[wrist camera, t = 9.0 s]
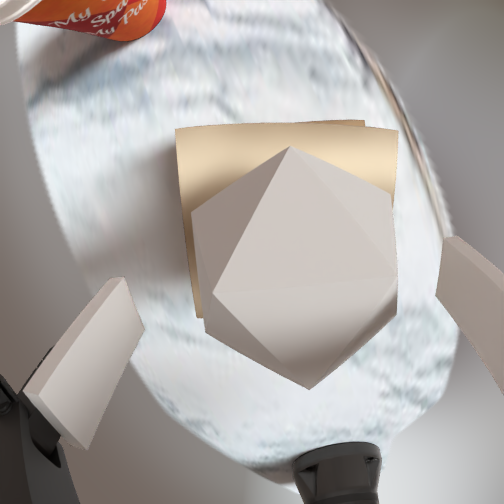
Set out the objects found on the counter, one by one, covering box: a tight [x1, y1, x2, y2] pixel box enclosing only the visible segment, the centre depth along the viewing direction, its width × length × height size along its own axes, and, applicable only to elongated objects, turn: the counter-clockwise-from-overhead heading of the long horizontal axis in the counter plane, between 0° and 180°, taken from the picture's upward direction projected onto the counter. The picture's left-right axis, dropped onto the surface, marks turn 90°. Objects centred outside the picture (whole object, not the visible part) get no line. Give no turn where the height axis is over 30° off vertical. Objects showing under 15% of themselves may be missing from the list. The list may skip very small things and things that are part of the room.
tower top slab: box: [175, 123, 398, 318], centre depth 17 cm, size 11×11×4 cm
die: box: [191, 146, 398, 390], centre depth 12 cm, size 8×9×10 cm
